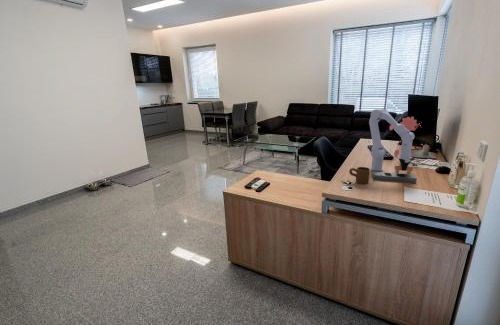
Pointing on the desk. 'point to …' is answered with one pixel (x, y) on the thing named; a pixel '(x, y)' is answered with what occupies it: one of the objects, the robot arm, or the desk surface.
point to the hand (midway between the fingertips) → (403, 169)
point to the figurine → (409, 125)
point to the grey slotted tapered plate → (394, 177)
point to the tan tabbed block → (399, 167)
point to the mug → (361, 174)
